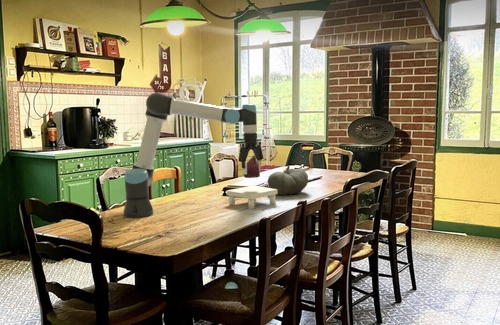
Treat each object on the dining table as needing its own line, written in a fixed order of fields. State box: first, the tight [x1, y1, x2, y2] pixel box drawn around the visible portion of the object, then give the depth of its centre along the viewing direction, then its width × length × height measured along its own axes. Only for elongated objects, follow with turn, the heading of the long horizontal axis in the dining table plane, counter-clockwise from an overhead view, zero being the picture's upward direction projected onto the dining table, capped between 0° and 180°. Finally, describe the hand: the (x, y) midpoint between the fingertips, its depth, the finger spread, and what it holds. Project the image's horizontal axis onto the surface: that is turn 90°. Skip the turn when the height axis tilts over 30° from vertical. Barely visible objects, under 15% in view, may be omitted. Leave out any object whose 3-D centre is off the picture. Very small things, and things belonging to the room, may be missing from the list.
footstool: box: [226, 185, 278, 210], centre depth 272 cm, size 20×20×8 cm
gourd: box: [267, 165, 309, 196], centre depth 300 cm, size 25×25×17 cm
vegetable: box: [243, 154, 261, 179], centre depth 269 cm, size 10×9×14 cm
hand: (251, 173), depth 270 cm, fingers closed on vegetable, 9 cm apart
